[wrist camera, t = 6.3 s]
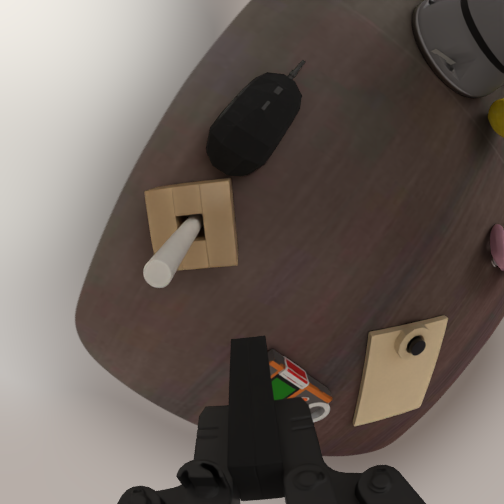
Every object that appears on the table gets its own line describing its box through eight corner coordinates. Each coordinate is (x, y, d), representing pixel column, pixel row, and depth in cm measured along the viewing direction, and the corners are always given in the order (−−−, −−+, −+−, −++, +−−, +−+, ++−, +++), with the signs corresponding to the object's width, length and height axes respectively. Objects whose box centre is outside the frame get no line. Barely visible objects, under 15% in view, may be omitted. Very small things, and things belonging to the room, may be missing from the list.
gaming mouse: (327, 78, 26) (339, 68, 22) (246, 187, 29) (247, 191, 26) (278, 45, 25) (284, 30, 21) (195, 153, 28) (188, 152, 24)
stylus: (205, 209, 30) (168, 258, 15) (206, 224, 30) (173, 287, 15) (189, 211, 30) (140, 261, 15) (191, 226, 30) (146, 289, 15)
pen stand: (231, 177, 29) (229, 180, 24) (238, 249, 31) (237, 265, 27) (158, 186, 29) (143, 191, 24) (169, 255, 31) (157, 272, 26)
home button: (422, 334, 33) (427, 339, 32) (419, 348, 34) (423, 353, 33) (408, 337, 33) (413, 343, 32) (405, 352, 34) (409, 357, 33)
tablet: (445, 311, 35) (454, 318, 33) (417, 403, 41) (422, 412, 39) (369, 327, 35) (376, 337, 33) (352, 421, 41) (356, 432, 38)
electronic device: (307, 429, 37) (233, 389, 33) (303, 416, 40) (233, 373, 36) (343, 406, 36) (274, 359, 32) (338, 392, 39) (271, 344, 35)
